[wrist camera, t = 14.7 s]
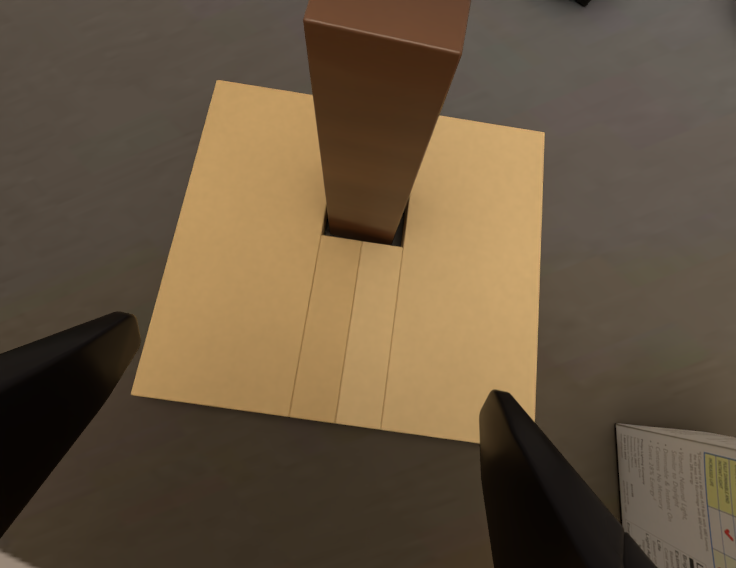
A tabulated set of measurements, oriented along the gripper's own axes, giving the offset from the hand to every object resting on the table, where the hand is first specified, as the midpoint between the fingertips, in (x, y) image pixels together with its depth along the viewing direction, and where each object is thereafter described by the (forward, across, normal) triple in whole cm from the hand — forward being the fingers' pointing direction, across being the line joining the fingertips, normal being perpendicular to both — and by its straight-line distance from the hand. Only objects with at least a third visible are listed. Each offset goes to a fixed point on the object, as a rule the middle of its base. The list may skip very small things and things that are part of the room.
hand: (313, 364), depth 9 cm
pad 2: (+14, -6, +4) cm, 16 cm away
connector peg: (+16, 0, +2) cm, 16 cm away
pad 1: (+14, +5, +4) cm, 15 cm away
